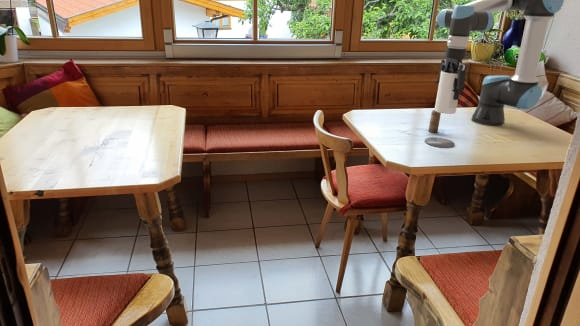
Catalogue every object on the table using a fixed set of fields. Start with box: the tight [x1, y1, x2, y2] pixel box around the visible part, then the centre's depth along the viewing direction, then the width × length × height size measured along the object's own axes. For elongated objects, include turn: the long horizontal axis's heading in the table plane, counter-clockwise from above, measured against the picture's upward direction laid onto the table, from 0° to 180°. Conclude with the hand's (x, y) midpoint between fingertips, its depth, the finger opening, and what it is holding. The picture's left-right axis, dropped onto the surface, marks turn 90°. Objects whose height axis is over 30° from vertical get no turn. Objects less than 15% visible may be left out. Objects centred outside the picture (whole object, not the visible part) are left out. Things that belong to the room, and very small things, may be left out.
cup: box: [434, 70, 459, 115], centre depth 172 cm, size 8×8×16 cm
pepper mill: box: [428, 109, 442, 134], centre depth 194 cm, size 4×4×10 cm
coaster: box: [424, 136, 456, 149], centre depth 181 cm, size 12×12×1 cm
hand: (446, 104), depth 174 cm, fingers closed on cup, 8 cm apart
